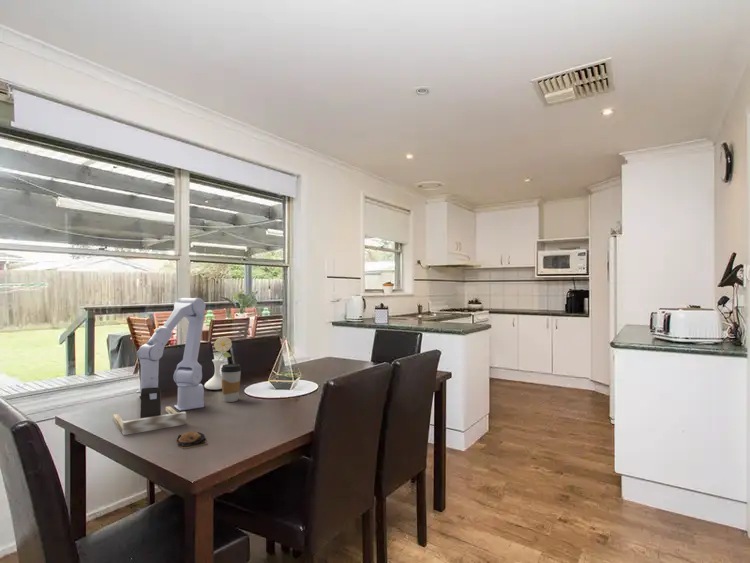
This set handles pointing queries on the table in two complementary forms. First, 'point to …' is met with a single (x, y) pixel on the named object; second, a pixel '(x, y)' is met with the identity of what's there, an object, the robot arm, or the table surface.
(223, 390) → the coffee cup
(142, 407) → the phone stand
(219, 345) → the flower in vase
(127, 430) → the bar
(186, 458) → the table surface
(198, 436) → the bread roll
